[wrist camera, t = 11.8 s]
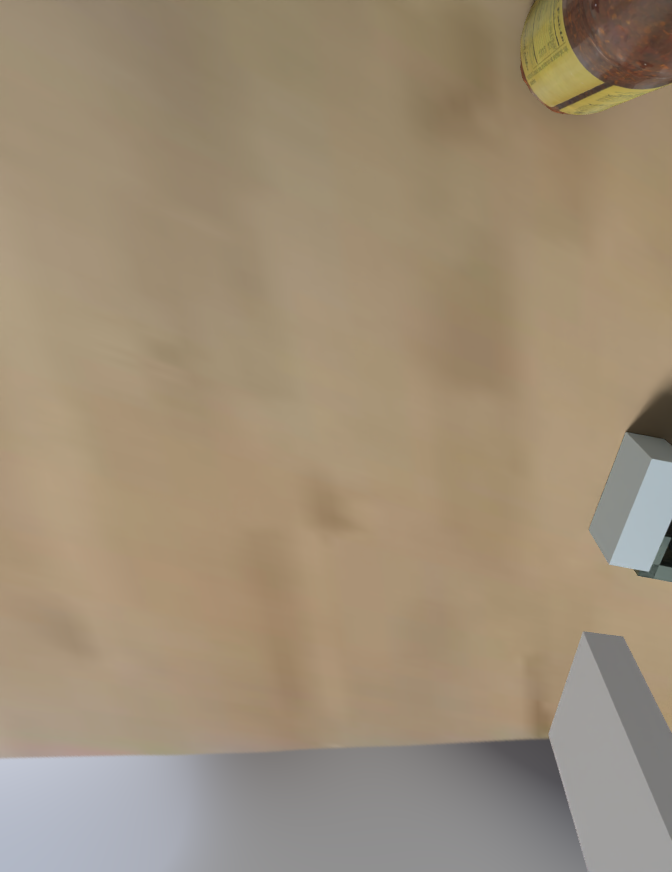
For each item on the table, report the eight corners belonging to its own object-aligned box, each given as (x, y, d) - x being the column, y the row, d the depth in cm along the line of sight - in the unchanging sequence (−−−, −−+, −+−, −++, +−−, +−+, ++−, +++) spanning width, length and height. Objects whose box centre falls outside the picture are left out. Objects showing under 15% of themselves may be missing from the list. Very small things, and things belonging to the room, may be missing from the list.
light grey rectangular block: (625, 431, 39) (651, 458, 35) (664, 439, 39) (694, 466, 35) (588, 529, 41) (609, 564, 38) (624, 536, 41) (648, 571, 38)
